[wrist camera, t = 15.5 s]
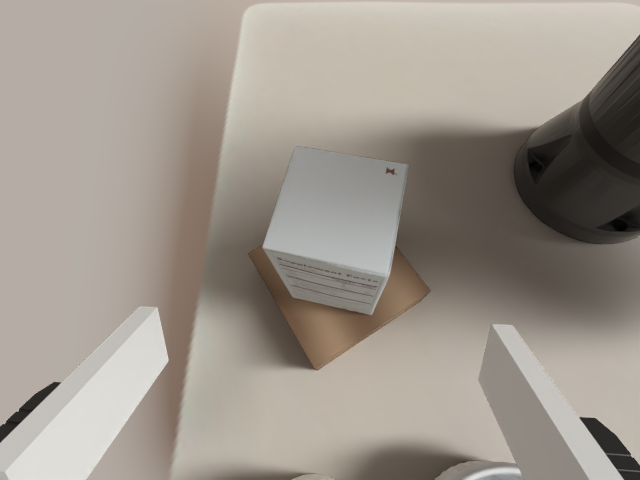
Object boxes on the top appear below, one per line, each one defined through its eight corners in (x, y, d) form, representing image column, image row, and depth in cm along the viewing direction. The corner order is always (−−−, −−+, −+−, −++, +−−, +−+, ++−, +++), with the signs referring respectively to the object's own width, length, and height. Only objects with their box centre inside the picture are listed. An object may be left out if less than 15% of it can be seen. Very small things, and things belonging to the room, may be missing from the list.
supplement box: (311, 225, 33) (294, 140, 21) (387, 241, 32) (414, 161, 20) (289, 299, 30) (257, 247, 19) (371, 319, 29) (392, 278, 18)
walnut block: (352, 214, 39) (353, 192, 34) (418, 303, 34) (430, 290, 30) (259, 269, 37) (247, 253, 32) (318, 370, 33) (314, 368, 28)
